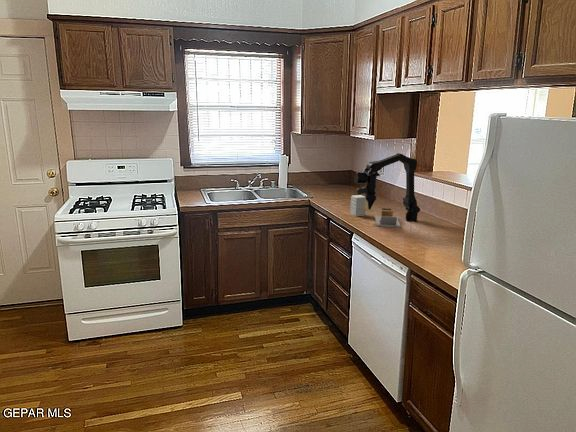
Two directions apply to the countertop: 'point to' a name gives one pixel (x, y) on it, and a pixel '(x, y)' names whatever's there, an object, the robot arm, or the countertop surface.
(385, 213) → the press ram
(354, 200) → the supplement box
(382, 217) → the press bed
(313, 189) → the countertop surface
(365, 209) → the housing
